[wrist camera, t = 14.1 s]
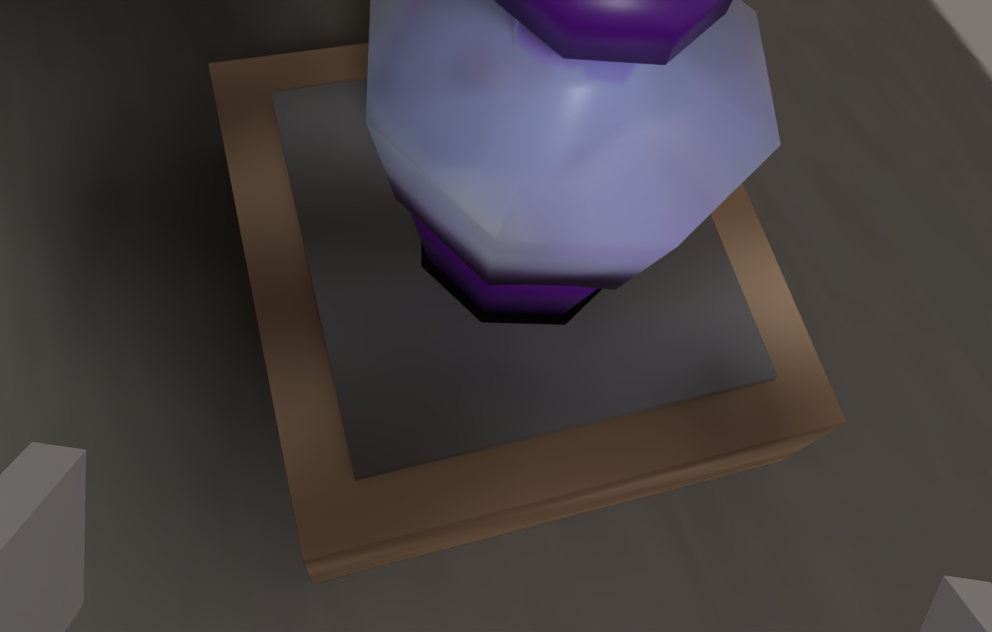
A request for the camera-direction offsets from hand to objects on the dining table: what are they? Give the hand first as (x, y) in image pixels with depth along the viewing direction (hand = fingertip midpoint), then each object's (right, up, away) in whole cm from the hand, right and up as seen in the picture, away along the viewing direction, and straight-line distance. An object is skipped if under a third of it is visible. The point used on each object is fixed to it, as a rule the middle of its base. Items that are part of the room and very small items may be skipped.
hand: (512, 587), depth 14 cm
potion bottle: (0, +6, +10) cm, 12 cm away
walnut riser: (0, +5, +14) cm, 15 cm away
